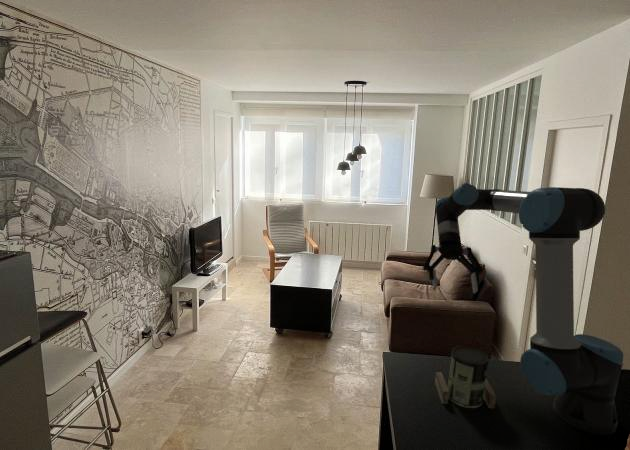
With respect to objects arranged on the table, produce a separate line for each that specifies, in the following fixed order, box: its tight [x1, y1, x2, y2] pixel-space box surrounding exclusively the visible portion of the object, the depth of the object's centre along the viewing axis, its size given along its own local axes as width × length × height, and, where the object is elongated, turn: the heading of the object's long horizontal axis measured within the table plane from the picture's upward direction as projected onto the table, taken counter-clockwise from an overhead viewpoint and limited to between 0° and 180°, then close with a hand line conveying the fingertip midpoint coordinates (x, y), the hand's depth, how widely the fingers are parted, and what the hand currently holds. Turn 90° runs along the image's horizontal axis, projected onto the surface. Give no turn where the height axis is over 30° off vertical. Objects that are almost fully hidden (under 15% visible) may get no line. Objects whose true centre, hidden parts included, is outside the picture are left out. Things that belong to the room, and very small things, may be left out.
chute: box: [434, 371, 497, 409], centre depth 121 cm, size 15×10×4 cm
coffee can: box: [447, 345, 490, 409], centre depth 119 cm, size 10×10×14 cm
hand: (455, 290), depth 136 cm, fingers open, 13 cm apart
